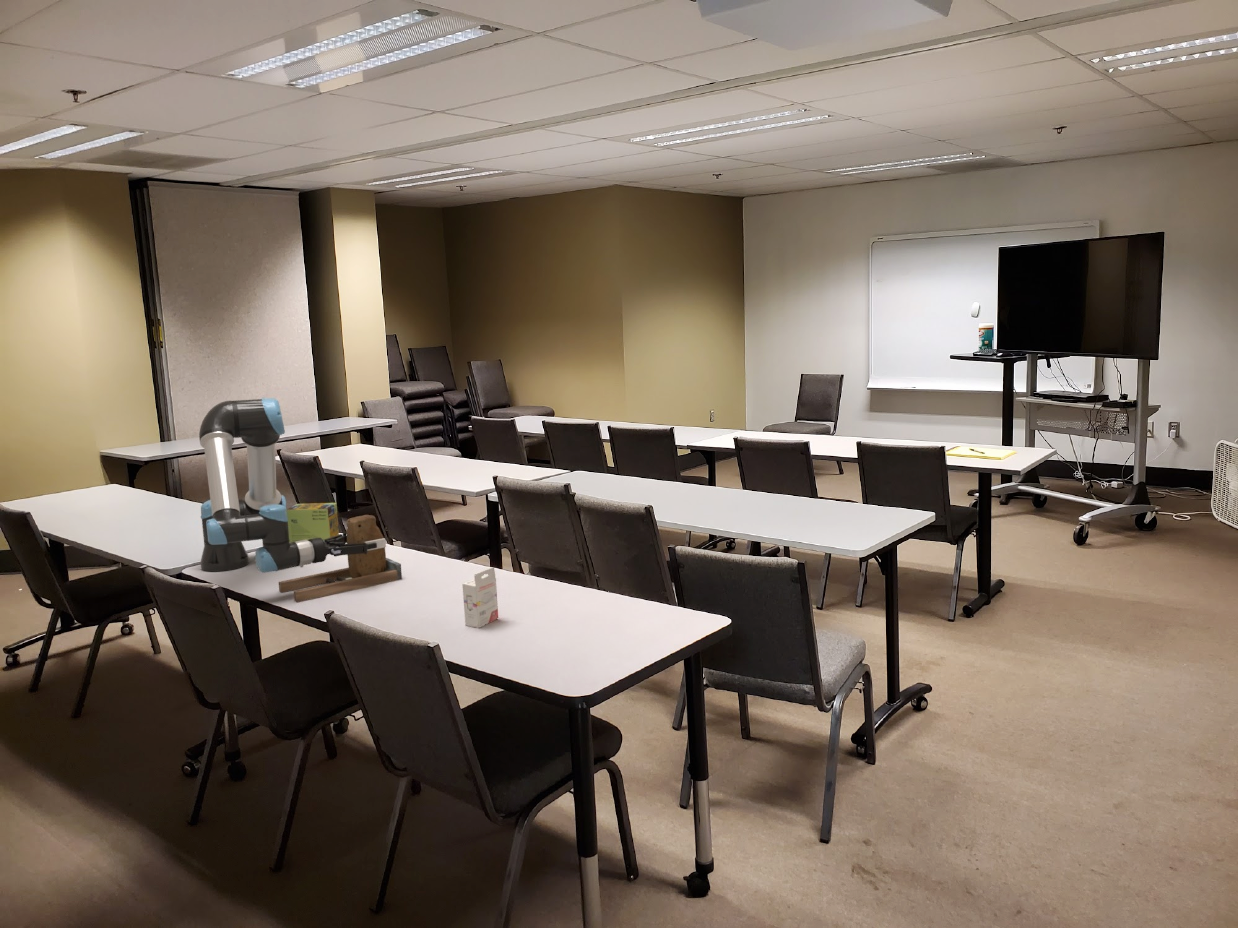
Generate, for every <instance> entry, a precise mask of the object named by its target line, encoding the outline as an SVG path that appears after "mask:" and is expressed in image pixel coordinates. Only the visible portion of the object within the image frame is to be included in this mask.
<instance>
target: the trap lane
mask: <svg viewBox="0 0 1238 928" xmlns="http://www.w3.org/2000/svg"><path fill="white" fill-rule="evenodd" d="M402 576H403V575H402V563H400V562H398V561H395V560H393V559H390V558H389V557H386V570H385V572H381V573H376V574H371V575H367V576H362V577H357V578H352V577H351V576H350V572H349V566H348V567H346V568H340V569H335V570H329V571H325V572H320V573H315V574H311V575H307V576H306V575H305V576H302V577H301V576H300V577H296V578H291V579H287V580H281V581H278V591H279V592H280V593H287V592H291V591H293V598H294V602H295V603H301V602H306V601H309V600H310V601H311V600H313V599H318V598H319V599H320V598H323V597H328V596H332V595H337V594H341V593H345V592H350V591H351V592H352V591H354V590H358V589H363V588H364V589H365V588H368V587H374V586H377V585H383V584H387V583H392V582H395V581H399V580H402V579H403V577H402Z"/></svg>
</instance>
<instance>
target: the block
mask: <svg viewBox="0 0 1238 928" xmlns="http://www.w3.org/2000/svg"><path fill="white" fill-rule="evenodd" d="M376 521H377V519H376V517H375V515H371V514H370V515H369V514H364V515H359V516H355V517H351V518H348V519H347V521H346V528H347V529H346V534H347V543H346V544H354V543H365V542H368V541H373V540H378V539H383V538H384V535H383V534H382V532H381V529H380V528H379V527H378V526H377V523H376ZM362 549H363V548H362ZM386 553H387V552H386V547H384V548H379V549H374V550H369V551H367V554H365V553H362V554H350V555H347V564H348V567H349V572H350V576H351V577H352V578H357V577H362V576H367V575H371V574H376V573H381V572H385V570H386V558H387V556H386Z"/></svg>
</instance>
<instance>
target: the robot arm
mask: <svg viewBox="0 0 1238 928" xmlns="http://www.w3.org/2000/svg"><path fill="white" fill-rule="evenodd" d="M285 433H286V431H285V426H284V421H283V415H282V411H281V407H280V401H278V400H277V399H276V398H265V397H262V398H258V399H257V398H254V399H237V400H225V401H222V402H219V403H217V404H216V405H214V406H213V407H211V409H209V411H208V412H207V413H206V415H205V416H204V418H203V420H202V421H201V425H200V427H199V434H198V435H199V444H200V446H201V447H202V448H203V449H204V456H205V457H204V458H205V465H206V473H207V474H206V475H207V482H208V491H209V499H208V500H207V501H205V502H203V503H202V504H201V506H200V519H201V525H202V534H203V545H204V546H203V550H202V555H201V559H200V569H201V570H202V571H205V572H224V571H230V570H231V571H232V570H237V569H240V568H243V567H246V566H247V565H249V563H250V558H249V555H248V552H247V551H246V548H245V546H244V543H243V542H248V541H249V542H250V541H259V540H262V546H261V547H259V548H257V549H255V555H254V558H255V559H254V560H255V564H256V568H257V570H258V571H260V572H261V573H271V572H278V571H282V570H287V569H291V568H292V569H293V568H297V567H300V568H304V566H307V565H311V564H317V563H318V564H319V563H324V562H325V561H326V559H327V556H328V555H331V556H333V557H339V556H340V557H341V556H348V555H350V554H362V553H365V554H367V551H369V550H374V549H379V548H384V547H385V548H387V543H386V541H387V540H386V538H384V537H383V539H378V540H373V541H368V542H365V543H354V544H347V532H342V534H341V533H339V535H336V536H333V537H330V538H327V539H324V540H323V539H322V538H319V537H318V538H313V539H309V540H301V541H296V542H291V543H290V540H289V529H288V518H287V511H286V510H287V500H286V497H285V495H283V494H281V492H280V491H279V489H277V470H276V469H277V467H276V466H277V464H276V463H277V462H276V444H277V443H278V441H279V440H280V436H282V435H283V434H285ZM238 438H241V441H242V442H243V444H244V445H246V456H247V457H246V458H247V473H248V475H247V476H248V477H247V478H248V491H247V492H246V493H245V496H244V498H241V499H239V495H238V487H237V480H236V479H237V478H236V472H235V466H234V465H235V464H234V458H233V449H232V445H234V442H235V439H238ZM362 548H363V549H362Z"/></svg>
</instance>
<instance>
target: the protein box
mask: <svg viewBox="0 0 1238 928" xmlns="http://www.w3.org/2000/svg"><path fill="white" fill-rule="evenodd" d="M286 511H287V518H288V529H289V540H290V543H291V542H296V541H301V540H309V539H313V538H318V537H319V538H322V539H323V540H324V539H327V538H330V537H333V536H336V535H340V531H339V519H338V506H337V502H318V503H317V502H314V503H296V504H294V505H292V506H291V507H288V508H286Z"/></svg>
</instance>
